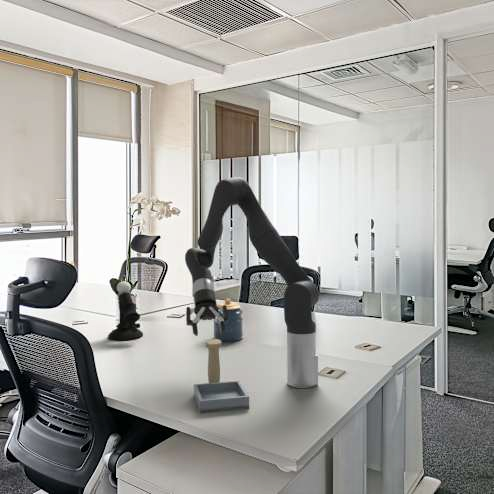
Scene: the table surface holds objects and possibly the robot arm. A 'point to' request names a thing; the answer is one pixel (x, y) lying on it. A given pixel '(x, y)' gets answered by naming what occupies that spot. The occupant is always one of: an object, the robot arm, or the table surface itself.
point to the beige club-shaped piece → (213, 360)
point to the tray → (220, 396)
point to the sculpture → (126, 316)
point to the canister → (230, 323)
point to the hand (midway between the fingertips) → (209, 334)
